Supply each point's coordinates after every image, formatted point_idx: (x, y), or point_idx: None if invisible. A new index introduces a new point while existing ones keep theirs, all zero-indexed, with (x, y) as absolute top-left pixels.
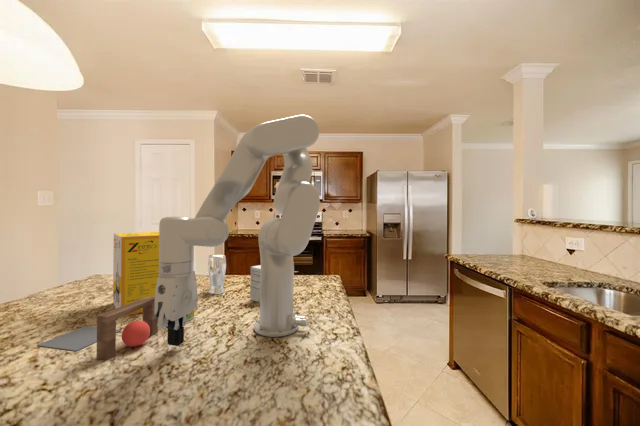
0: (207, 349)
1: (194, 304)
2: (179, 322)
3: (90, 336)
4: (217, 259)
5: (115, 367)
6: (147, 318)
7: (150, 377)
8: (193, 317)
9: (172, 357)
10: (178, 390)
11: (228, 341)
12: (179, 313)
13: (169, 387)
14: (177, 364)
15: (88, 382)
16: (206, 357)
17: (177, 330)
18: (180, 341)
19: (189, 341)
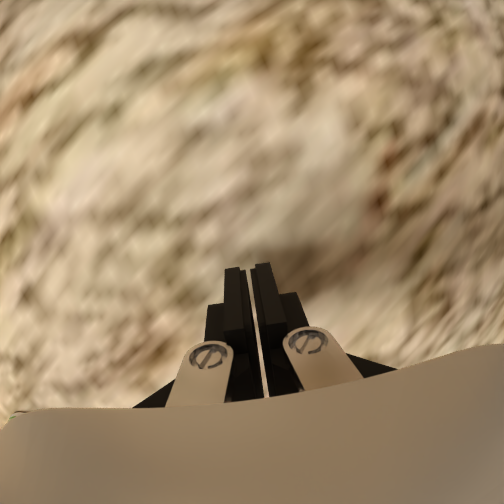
0: (166, 116)
1: (40, 470)
2: (234, 391)
3: None
4: None
5: (424, 360)
6: None
7: (468, 190)
8: (14, 413)
9: (320, 235)
10: (484, 34)
11: (45, 87)
12: (453, 408)
13: (487, 73)
14: (369, 154)
15: (487, 339)
16: (252, 52)
17: (286, 332)
18: (260, 271)
19: (138, 292)
